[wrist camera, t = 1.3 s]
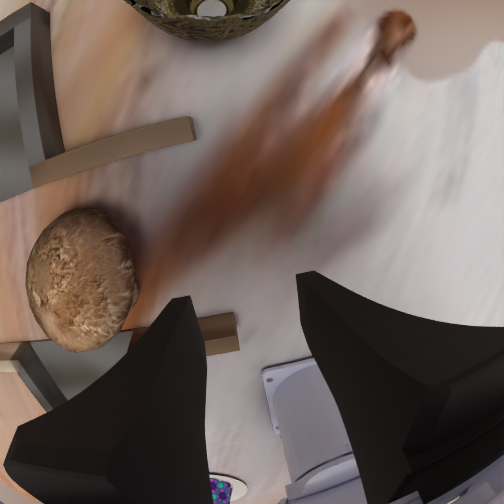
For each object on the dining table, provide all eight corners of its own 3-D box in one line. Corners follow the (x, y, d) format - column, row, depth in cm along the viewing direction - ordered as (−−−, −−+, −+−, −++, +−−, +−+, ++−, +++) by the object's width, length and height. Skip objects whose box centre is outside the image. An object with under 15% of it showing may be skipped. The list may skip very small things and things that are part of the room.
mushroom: (176, 345, 17) (95, 372, 11) (88, 338, 19) (17, 349, 13) (166, 207, 17) (86, 182, 12) (82, 228, 20) (12, 217, 14)
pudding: (179, 460, 27) (178, 499, 22) (265, 478, 31) (271, 512, 26) (143, 488, 30) (140, 518, 25) (217, 504, 34) (220, 532, 29)
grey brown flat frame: (258, 412, 24) (262, 434, 22) (28, 421, 23) (22, 437, 21) (168, -30, 11) (163, -50, 9) (-95, 125, 10) (-112, 129, 8)
